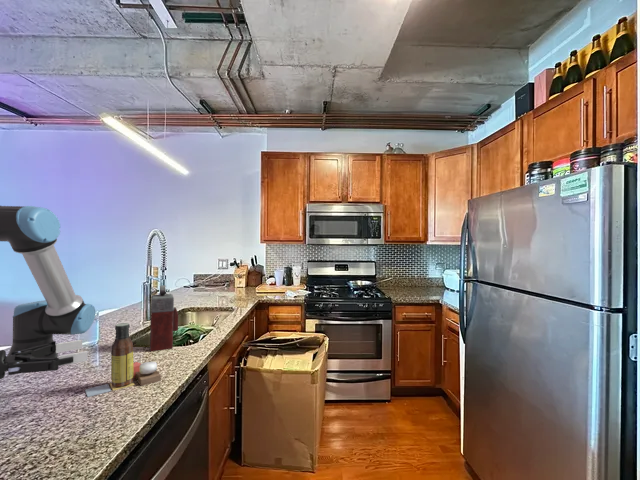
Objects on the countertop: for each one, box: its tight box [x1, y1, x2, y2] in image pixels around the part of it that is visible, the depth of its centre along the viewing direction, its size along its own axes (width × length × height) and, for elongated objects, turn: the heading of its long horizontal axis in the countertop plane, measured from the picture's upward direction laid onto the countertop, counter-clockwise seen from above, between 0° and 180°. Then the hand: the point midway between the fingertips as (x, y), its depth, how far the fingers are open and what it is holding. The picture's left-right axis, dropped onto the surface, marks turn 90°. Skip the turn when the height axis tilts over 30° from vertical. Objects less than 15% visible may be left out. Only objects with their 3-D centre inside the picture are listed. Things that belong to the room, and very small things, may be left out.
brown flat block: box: [134, 370, 162, 387], centre depth 107 cm, size 8×6×2 cm
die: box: [133, 361, 142, 379], centre depth 110 cm, size 4×4×4 cm
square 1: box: [84, 383, 112, 398], centre depth 98 cm, size 6×6×1 cm
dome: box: [140, 361, 158, 374], centre depth 107 cm, size 5×5×2 cm
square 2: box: [109, 382, 135, 391], centre depth 103 cm, size 6×6×1 cm
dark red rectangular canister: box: [149, 284, 179, 353], centre depth 141 cm, size 9×11×28 cm
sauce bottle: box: [110, 322, 134, 387], centre depth 103 cm, size 7×6×20 cm
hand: (84, 349), depth 96 cm, fingers open, 13 cm apart
